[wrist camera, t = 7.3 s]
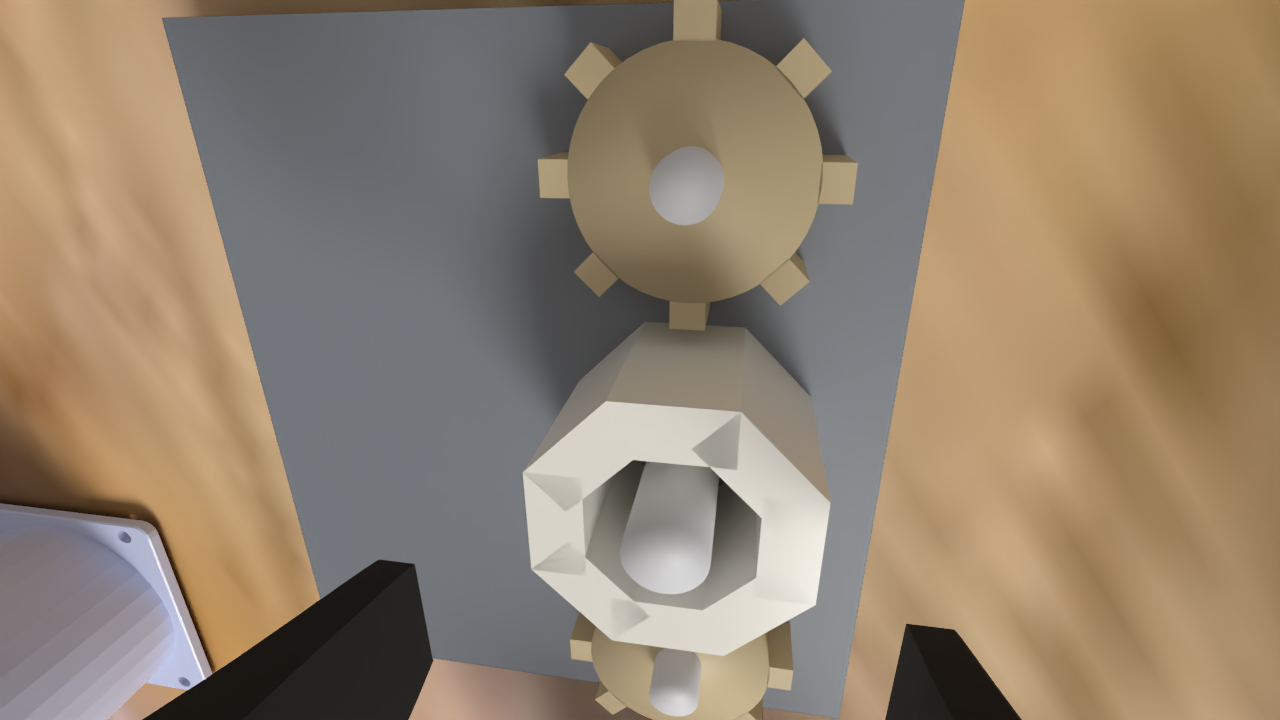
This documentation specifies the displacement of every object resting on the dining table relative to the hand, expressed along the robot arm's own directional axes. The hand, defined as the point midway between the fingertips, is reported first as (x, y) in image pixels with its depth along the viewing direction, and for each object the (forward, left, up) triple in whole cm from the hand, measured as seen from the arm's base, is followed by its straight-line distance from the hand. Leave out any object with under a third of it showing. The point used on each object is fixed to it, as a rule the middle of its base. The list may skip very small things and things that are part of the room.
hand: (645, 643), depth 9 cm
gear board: (-3, 0, -8) cm, 9 cm away
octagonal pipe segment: (0, 0, -6) cm, 6 cm away
